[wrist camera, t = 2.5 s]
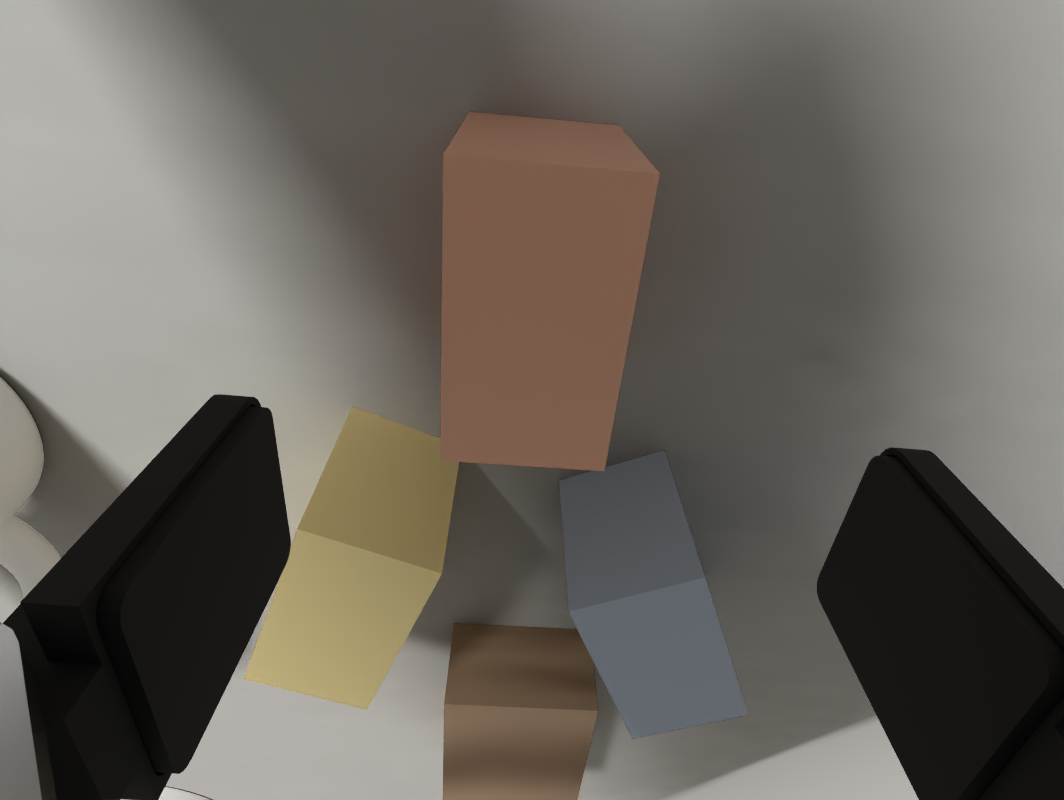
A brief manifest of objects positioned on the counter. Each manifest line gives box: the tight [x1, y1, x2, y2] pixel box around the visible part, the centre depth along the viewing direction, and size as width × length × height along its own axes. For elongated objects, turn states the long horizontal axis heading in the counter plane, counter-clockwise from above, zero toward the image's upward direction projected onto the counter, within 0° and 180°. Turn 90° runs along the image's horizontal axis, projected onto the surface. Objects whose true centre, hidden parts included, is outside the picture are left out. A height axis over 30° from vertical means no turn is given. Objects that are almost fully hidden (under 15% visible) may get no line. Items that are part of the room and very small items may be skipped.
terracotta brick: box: [440, 112, 660, 471], centre depth 16 cm, size 7×4×6 cm, turn 175°
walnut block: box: [443, 623, 598, 800], centre depth 28 cm, size 8×6×4 cm
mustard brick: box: [244, 407, 459, 710], centre depth 21 cm, size 7×4×6 cm, turn 155°
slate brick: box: [559, 450, 748, 739], centre depth 22 cm, size 7×4×6 cm, turn 20°
